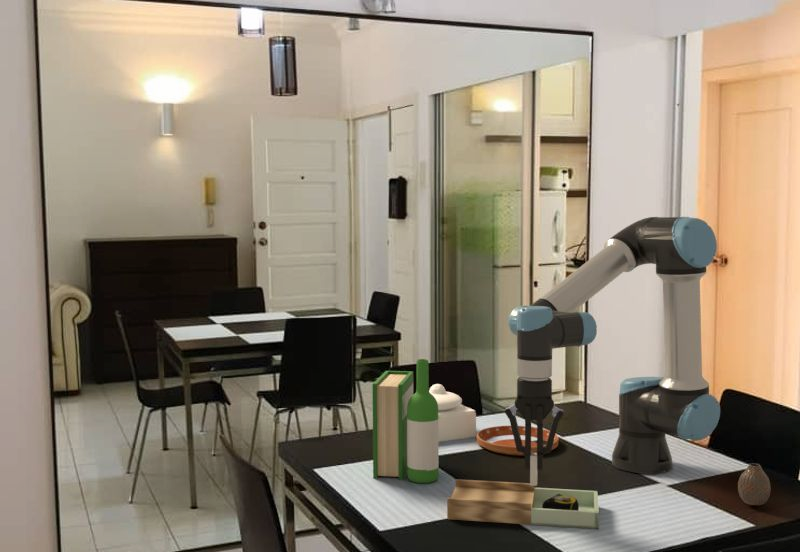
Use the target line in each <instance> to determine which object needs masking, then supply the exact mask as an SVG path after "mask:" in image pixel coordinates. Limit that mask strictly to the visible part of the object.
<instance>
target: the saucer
mask: <svg viewBox="0 0 800 552" xmlns="http://www.w3.org/2000/svg"><path fill="white" fill-rule="evenodd" d="M518 428H519V432H520V436H523V437H525V425H518ZM549 433H550V430H548V429H544V428H543V441H545V442H547V440H548V436H549ZM502 436H513V432H512V428H511V425H498V426H496V425H495V426H490V427H486V428H482V429H481V430H479V431H478V432H476V443H477V444H478V445H479V446H481V447H483V448H484V449H486V450H488V451H490V452H493V453H497V454H502V455H508V456H509V455H511V456H525V455H524V453H522V452H518V451H517V449H516V445H515V440H514V438H507V439H500V440H496V441H495V440H494V442H490V441H489V440H490V439H493V438H497V437H502ZM531 438H535V439H537V426H536V427H534V426H531ZM521 441H522V445H523V446H525V439H521ZM559 441H560V440H559V436H558V435H557V433H556V434H555V438H554V441H553V445H552V449H551V451H553V450H554V449H557V447H559ZM545 446H546V444H543V447H545ZM531 453H537V442H535V441H532V440H531Z"/></svg>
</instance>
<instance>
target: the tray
mask: <svg viewBox="0 0 800 552" xmlns="http://www.w3.org/2000/svg"><path fill="white" fill-rule="evenodd" d="M557 494H561V495H564V496H571V497H574V498H575V499H577V501H578V504H579V509H578V511H577V510H561V509H544V508H542V505H543V503H544V502H545V501H546V500H548V499H550V498H551V497H553V496H555V495H557ZM598 495H599V494H598V490H584V489H567V488H566V489H565V488H564V489H563V488H549V487H534V507H533V508H531V526H538V527H539V526H540V527H543V526H544V527H555V528H571V529H587V530H588V529H589V530H600V529H599V528H600V526H599V525H600V523H599V522H600V512H599V511H600V510H599V509H600V508H599V497H598Z"/></svg>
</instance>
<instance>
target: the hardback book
mask: <svg viewBox="0 0 800 552" xmlns="http://www.w3.org/2000/svg"><path fill="white" fill-rule="evenodd" d="M413 394H414V371H407V370H403V371H402V370H401V371H400V370H385V371H384V372H383V373H382V374H381V375H380V376H379V377H378V378H377V379H376V380H374V382H373V383H372V475H373V477H372V478H373V479H375V478H376V479H378V478H379V477H398V480H399V481H403V480H404V478H405V476H406V474H407V405H408V401H409V399H410V398H411V397H412V395H413ZM377 477H378V478H377Z"/></svg>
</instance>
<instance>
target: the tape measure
mask: <svg viewBox="0 0 800 552" xmlns="http://www.w3.org/2000/svg"><path fill="white" fill-rule="evenodd" d="M542 508H544V509H561V510H577V511H578V509H579V504H578V501H577V499H575V498H574V497H571V496H564V495H561V494H557V495H555V496H553V497H551V498H550V499H548V500H546V501H545V502H544V503H543V505H542Z"/></svg>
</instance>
